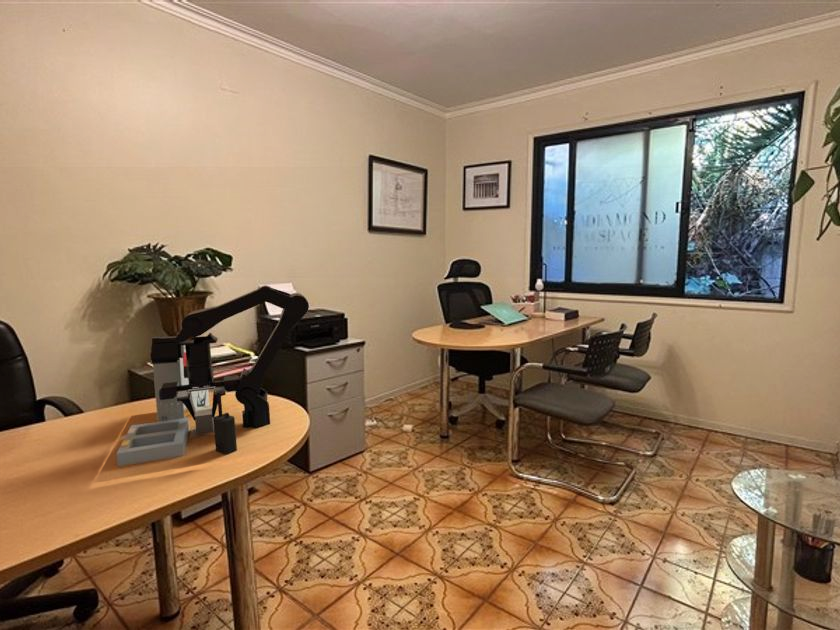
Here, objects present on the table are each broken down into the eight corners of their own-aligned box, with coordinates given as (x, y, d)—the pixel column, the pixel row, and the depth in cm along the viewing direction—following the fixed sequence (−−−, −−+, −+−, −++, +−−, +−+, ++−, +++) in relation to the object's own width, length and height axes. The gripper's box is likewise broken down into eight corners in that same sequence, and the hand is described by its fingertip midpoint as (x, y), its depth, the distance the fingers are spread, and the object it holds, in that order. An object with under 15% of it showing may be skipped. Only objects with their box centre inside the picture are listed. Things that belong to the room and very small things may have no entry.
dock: (189, 431, 122) (188, 416, 121) (184, 459, 107) (182, 441, 106) (132, 440, 117) (131, 424, 116) (118, 470, 102) (116, 451, 101)
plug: (213, 426, 123) (212, 406, 122) (213, 431, 120) (211, 411, 119) (197, 428, 122) (195, 409, 121) (196, 434, 118) (194, 414, 117)
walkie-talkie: (238, 453, 109) (233, 393, 107) (225, 459, 106) (220, 397, 104) (226, 449, 112) (221, 389, 109) (213, 454, 109) (208, 393, 106)
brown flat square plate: (220, 426, 126) (220, 422, 126) (219, 437, 118) (219, 433, 118) (191, 430, 123) (191, 426, 123) (189, 442, 116) (189, 438, 116)
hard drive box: (184, 425, 126) (177, 355, 123) (157, 425, 126) (149, 355, 123) (210, 405, 142) (205, 342, 139) (186, 405, 142) (180, 342, 139)
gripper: (237, 350, 129) (241, 403, 131) (161, 357, 121) (167, 413, 124) (238, 359, 118) (242, 417, 121) (155, 367, 111) (162, 428, 114)
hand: (204, 418), depth 120 cm, fingers closed on plug, 4 cm apart
